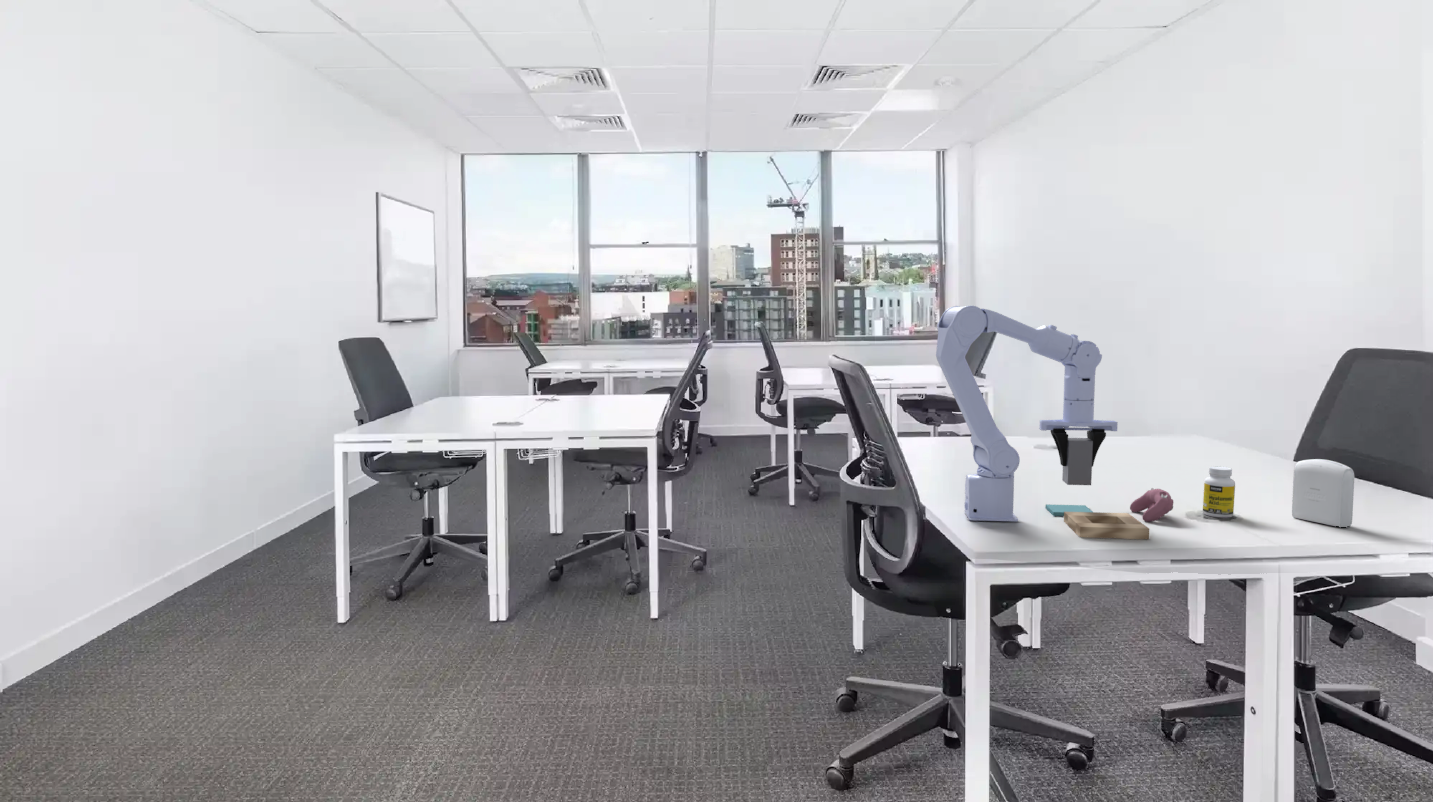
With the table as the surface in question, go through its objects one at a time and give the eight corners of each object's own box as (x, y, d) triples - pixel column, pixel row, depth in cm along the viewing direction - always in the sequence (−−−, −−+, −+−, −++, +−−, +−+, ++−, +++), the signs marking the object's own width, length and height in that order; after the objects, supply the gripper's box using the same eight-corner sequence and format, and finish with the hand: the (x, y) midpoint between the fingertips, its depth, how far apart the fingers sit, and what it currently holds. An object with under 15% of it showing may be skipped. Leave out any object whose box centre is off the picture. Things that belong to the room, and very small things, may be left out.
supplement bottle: (1204, 516, 167) (1207, 469, 166) (1200, 510, 172) (1202, 464, 171) (1236, 519, 165) (1238, 470, 164) (1230, 512, 170) (1233, 466, 169)
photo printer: (1287, 517, 166) (1290, 456, 165) (1301, 515, 168) (1305, 455, 166) (1340, 529, 156) (1345, 465, 155) (1356, 527, 158) (1360, 463, 157)
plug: (1067, 484, 167) (1069, 440, 166) (1062, 480, 172) (1063, 437, 171) (1091, 485, 166) (1092, 441, 165) (1085, 480, 171) (1086, 437, 170)
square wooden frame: (1079, 537, 153) (1080, 526, 153) (1063, 521, 165) (1064, 511, 165) (1149, 539, 151) (1149, 528, 151) (1127, 523, 163) (1128, 513, 163)
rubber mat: (1053, 515, 170) (1053, 511, 170) (1045, 508, 177) (1045, 504, 177) (1094, 516, 168) (1094, 513, 168) (1085, 508, 175) (1085, 505, 175)
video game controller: (1163, 530, 163) (1182, 500, 162) (1141, 519, 164) (1160, 489, 163) (1147, 518, 173) (1164, 489, 172) (1126, 508, 173) (1144, 479, 172)
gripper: (1045, 401, 165) (1043, 468, 166) (1123, 401, 162) (1120, 469, 164) (1038, 397, 172) (1036, 462, 173) (1112, 398, 169) (1110, 463, 171)
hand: (1076, 465), depth 169 cm, fingers closed on plug, 4 cm apart
